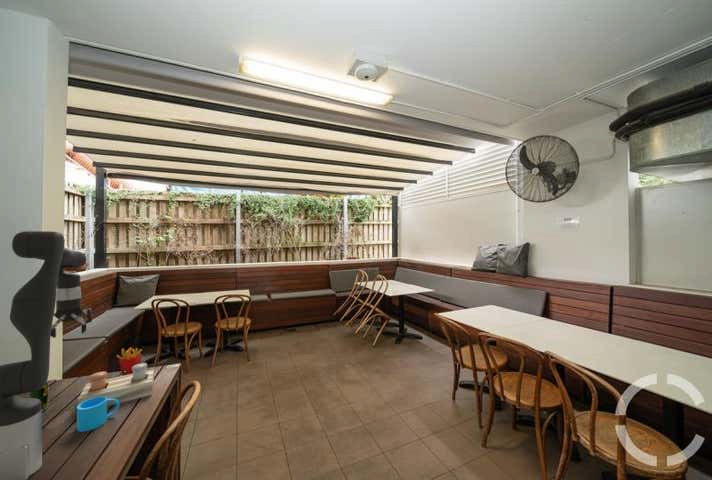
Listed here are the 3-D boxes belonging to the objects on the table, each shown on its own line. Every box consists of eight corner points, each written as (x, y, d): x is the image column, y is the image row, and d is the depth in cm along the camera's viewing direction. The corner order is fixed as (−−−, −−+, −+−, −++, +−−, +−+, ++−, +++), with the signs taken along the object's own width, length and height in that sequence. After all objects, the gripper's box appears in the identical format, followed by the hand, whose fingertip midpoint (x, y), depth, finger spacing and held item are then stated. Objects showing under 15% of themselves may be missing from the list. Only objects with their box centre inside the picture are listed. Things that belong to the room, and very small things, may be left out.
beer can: (26, 415, 108) (25, 385, 108) (32, 408, 113) (31, 379, 113) (45, 411, 111) (45, 381, 111) (50, 404, 116) (50, 376, 116)
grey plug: (146, 381, 125) (146, 366, 125) (131, 385, 122) (131, 369, 122) (147, 377, 129) (147, 362, 129) (132, 380, 126) (132, 365, 126)
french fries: (129, 372, 143) (129, 344, 143) (145, 372, 143) (145, 344, 143) (114, 381, 134) (114, 351, 134) (131, 381, 134) (131, 351, 134)
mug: (78, 435, 97) (78, 412, 97) (75, 425, 103) (75, 403, 103) (121, 418, 107) (121, 397, 107) (117, 409, 112) (117, 390, 112)
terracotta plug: (105, 391, 117) (105, 375, 117) (88, 395, 114) (88, 378, 114) (108, 386, 121) (107, 370, 121) (91, 389, 118) (91, 373, 118)
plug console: (152, 394, 123) (152, 381, 123) (78, 413, 109) (77, 399, 109) (153, 381, 134) (153, 369, 134) (86, 397, 121) (86, 383, 121)
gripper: (42, 301, 111) (42, 341, 111) (91, 296, 120) (91, 333, 120) (46, 298, 117) (46, 336, 117) (92, 294, 126) (92, 329, 126)
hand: (69, 335), depth 118 cm, fingers open, 8 cm apart
